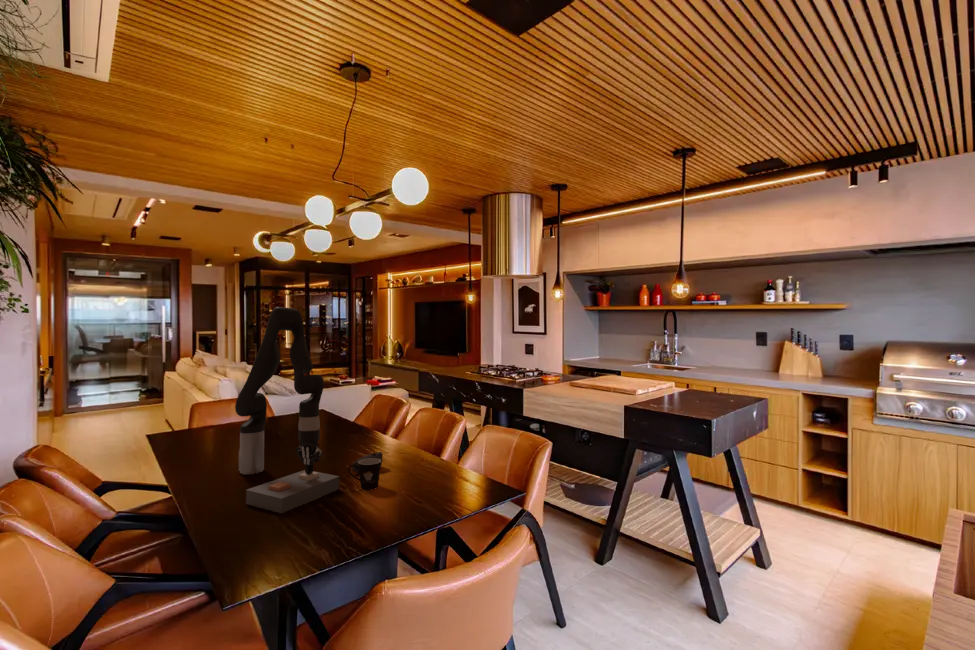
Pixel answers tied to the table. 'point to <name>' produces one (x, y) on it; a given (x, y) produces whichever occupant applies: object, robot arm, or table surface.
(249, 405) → the robot arm
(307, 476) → the offwhite key
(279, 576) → the table surface
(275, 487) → the terracotta key
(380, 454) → the perforated stone tool
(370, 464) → the coffee mug
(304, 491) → the key panel
